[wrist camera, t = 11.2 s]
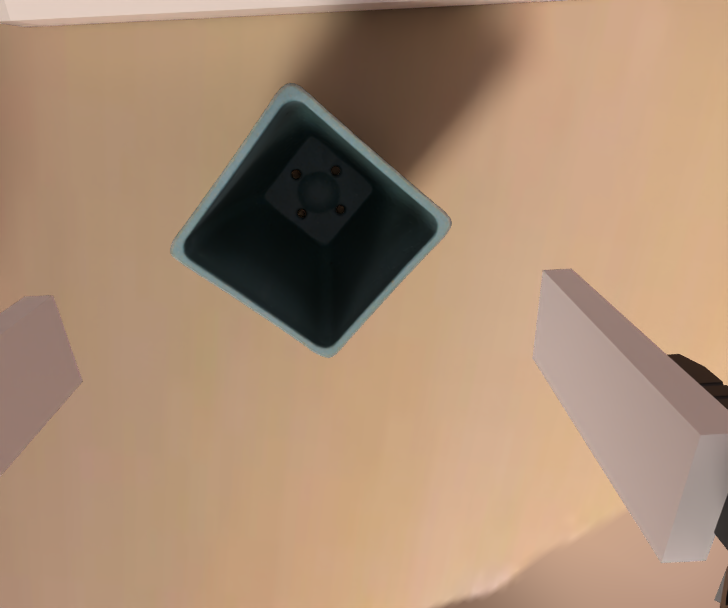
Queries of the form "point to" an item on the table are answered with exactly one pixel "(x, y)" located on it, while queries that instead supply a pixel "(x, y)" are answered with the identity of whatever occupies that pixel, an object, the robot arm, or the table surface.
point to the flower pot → (309, 225)
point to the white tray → (193, 9)
